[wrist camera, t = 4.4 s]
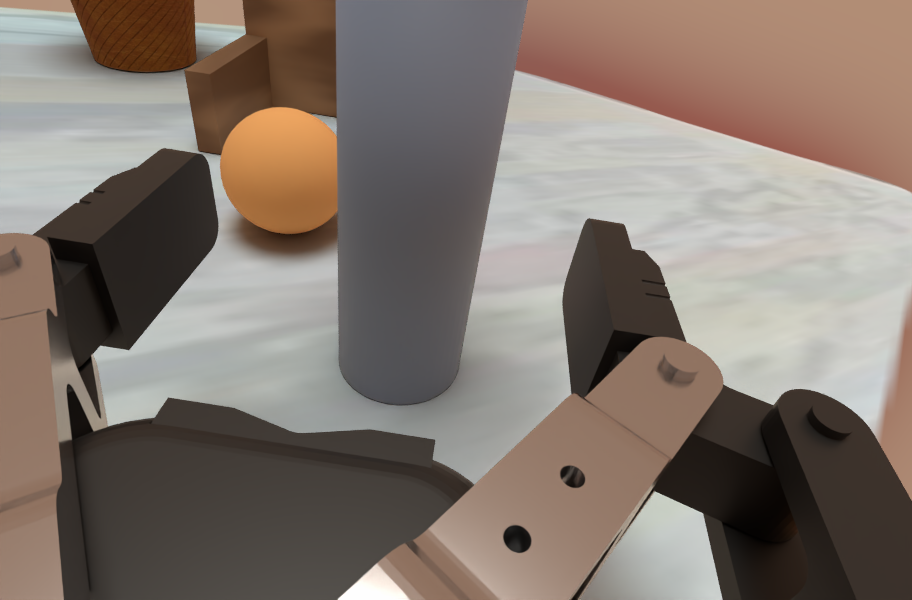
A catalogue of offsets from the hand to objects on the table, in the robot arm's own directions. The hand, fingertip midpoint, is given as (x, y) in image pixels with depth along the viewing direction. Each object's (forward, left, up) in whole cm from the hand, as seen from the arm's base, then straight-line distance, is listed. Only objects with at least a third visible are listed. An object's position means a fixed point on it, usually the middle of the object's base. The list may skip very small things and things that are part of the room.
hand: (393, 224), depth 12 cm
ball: (-6, +10, -4) cm, 12 cm away
